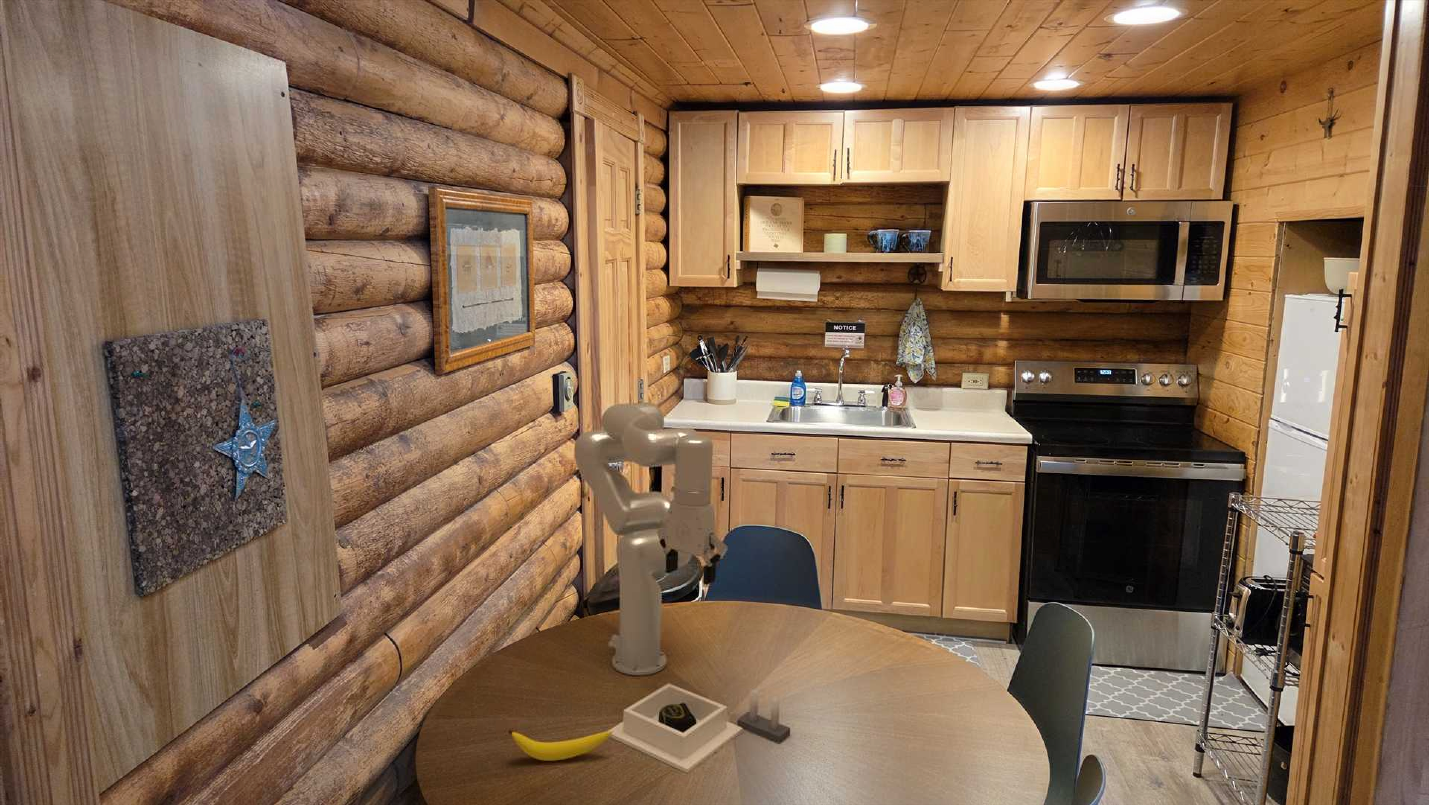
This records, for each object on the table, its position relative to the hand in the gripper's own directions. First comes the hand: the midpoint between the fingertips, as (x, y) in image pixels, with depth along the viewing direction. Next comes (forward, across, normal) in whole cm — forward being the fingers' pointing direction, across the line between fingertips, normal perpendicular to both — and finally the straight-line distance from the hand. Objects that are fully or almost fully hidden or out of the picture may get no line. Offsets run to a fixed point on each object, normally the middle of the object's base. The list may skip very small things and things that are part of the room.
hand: (690, 577), depth 173 cm
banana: (+29, -6, -30) cm, 42 cm away
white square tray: (+28, +5, -10) cm, 30 cm away
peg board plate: (+28, +18, +2) cm, 34 cm away
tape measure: (+28, +5, -9) cm, 29 cm away
